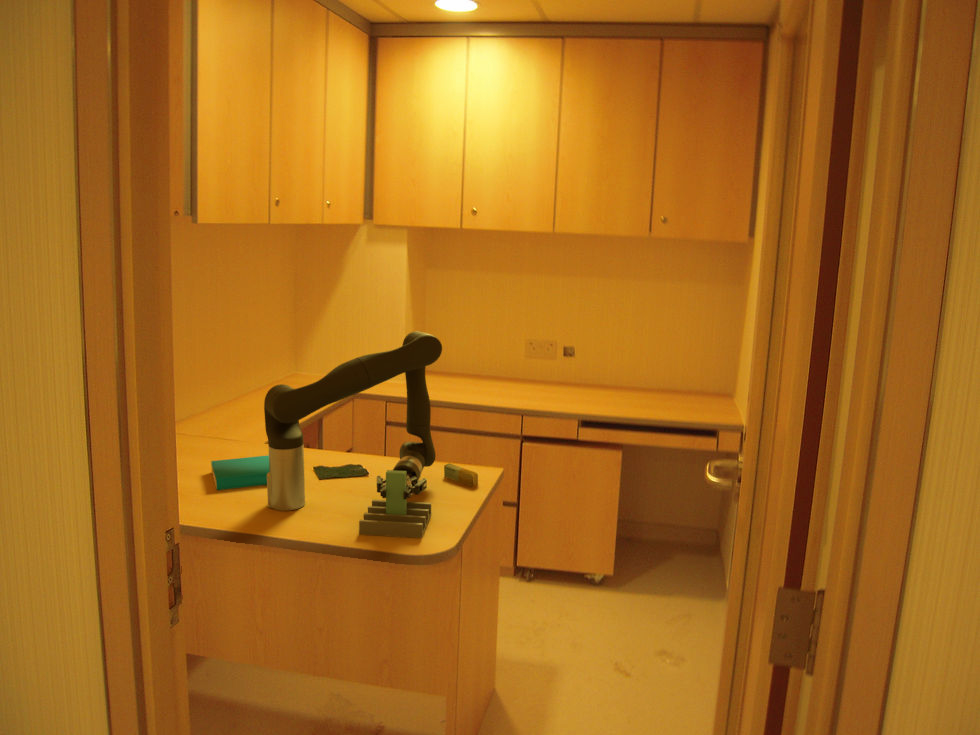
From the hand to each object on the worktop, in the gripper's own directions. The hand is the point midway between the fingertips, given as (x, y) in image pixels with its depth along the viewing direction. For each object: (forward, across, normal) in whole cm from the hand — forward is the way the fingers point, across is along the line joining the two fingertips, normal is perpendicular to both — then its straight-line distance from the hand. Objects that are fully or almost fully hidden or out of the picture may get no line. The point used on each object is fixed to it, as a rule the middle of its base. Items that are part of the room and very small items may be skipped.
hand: (394, 495), depth 211 cm
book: (-32, -48, +10) cm, 59 cm away
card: (-3, 0, +7) cm, 7 cm away
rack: (-3, 0, +9) cm, 9 cm away
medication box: (-38, +12, +10) cm, 41 cm away
